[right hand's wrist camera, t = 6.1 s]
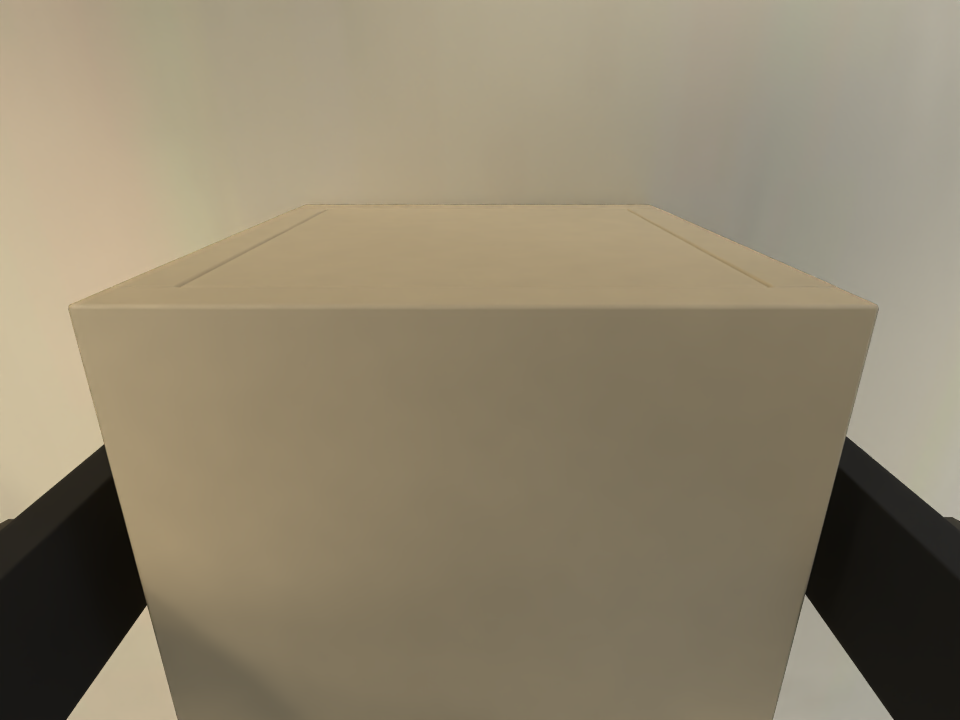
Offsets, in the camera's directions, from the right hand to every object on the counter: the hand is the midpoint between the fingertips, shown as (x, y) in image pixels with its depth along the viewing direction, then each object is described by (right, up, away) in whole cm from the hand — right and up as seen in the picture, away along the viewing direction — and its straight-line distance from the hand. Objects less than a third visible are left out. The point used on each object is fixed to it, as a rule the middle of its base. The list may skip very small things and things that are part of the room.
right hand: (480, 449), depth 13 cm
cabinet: (0, -1, +7) cm, 7 cm away
